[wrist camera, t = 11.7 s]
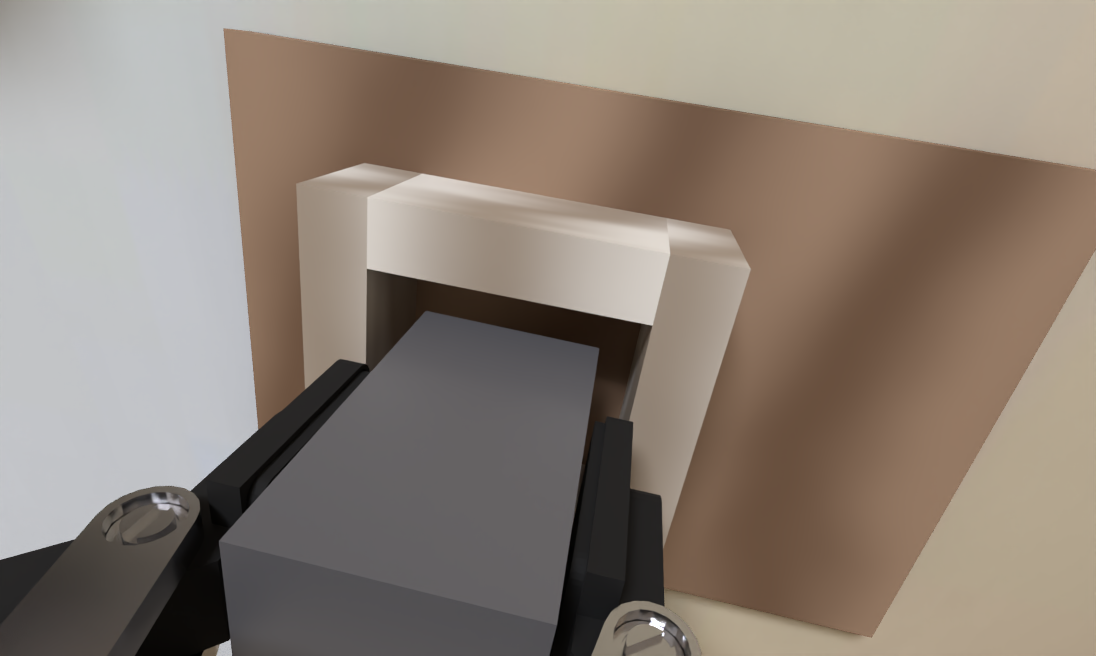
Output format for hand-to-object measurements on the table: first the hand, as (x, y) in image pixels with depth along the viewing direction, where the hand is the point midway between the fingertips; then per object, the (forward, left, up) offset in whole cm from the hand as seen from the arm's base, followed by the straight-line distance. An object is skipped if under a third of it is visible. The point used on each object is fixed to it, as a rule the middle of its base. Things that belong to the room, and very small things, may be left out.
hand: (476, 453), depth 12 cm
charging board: (-2, 0, -5) cm, 6 cm away
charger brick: (0, 0, -2) cm, 2 cm away
